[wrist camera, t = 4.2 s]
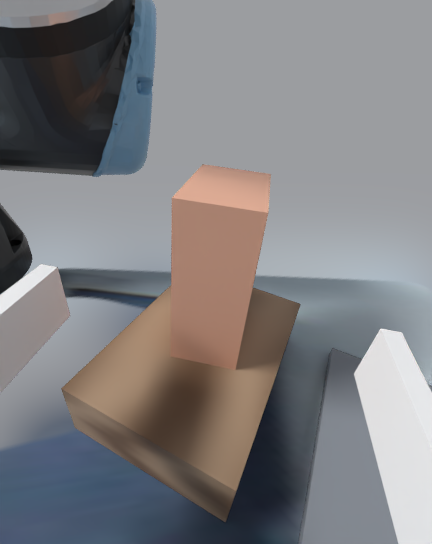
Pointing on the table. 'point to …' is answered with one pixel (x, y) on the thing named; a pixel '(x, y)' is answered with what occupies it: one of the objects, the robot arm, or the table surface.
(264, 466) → the table surface
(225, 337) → the block
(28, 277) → the robot arm
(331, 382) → the mat
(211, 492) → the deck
